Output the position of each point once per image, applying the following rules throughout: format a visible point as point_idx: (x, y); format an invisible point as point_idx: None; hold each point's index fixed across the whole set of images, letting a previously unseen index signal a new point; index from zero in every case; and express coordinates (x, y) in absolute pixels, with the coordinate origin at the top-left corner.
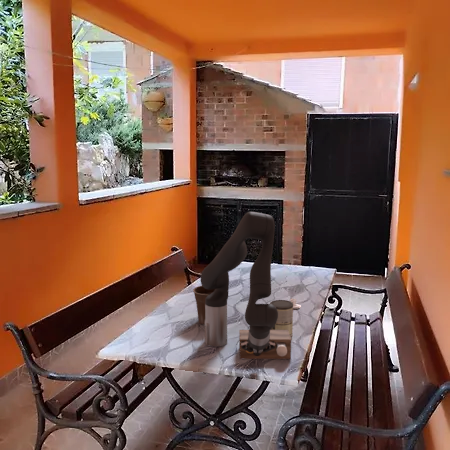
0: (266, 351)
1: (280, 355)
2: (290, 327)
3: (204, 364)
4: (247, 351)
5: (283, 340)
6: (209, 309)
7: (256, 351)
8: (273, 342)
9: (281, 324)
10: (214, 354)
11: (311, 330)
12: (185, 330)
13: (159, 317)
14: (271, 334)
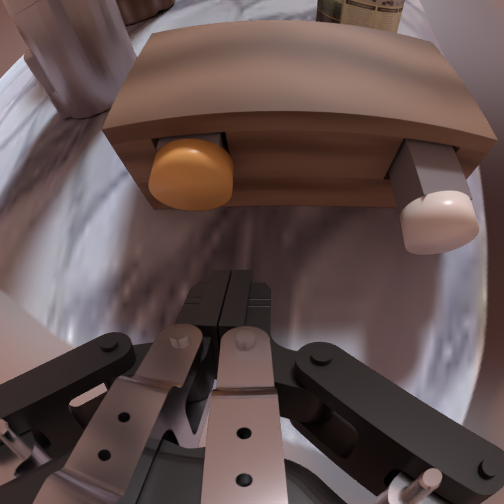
0: (331, 423)
1: (419, 251)
2: (397, 22)
3: (7, 275)
4: (173, 203)
5: (455, 135)
6: (5, 3)
7: (200, 419)
8: (481, 500)
9: (370, 6)
10: (60, 177)
11: (437, 41)
12: None
13: None
14: (358, 58)
